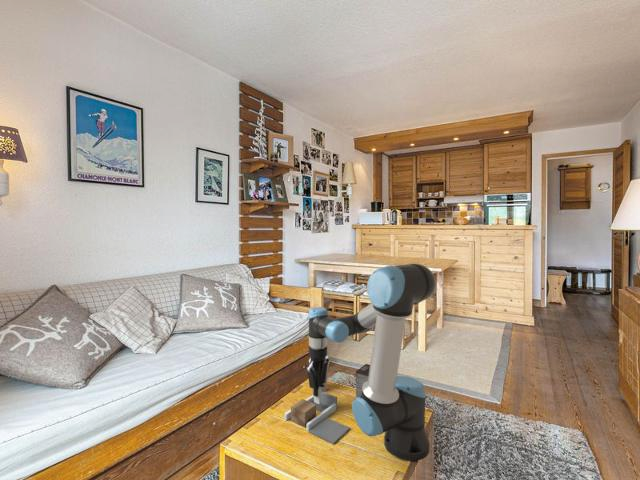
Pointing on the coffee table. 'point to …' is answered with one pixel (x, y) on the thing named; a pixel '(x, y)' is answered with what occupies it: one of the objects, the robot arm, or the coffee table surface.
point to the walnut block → (303, 412)
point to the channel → (319, 409)
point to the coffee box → (361, 378)
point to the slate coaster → (329, 430)
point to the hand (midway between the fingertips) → (317, 402)
